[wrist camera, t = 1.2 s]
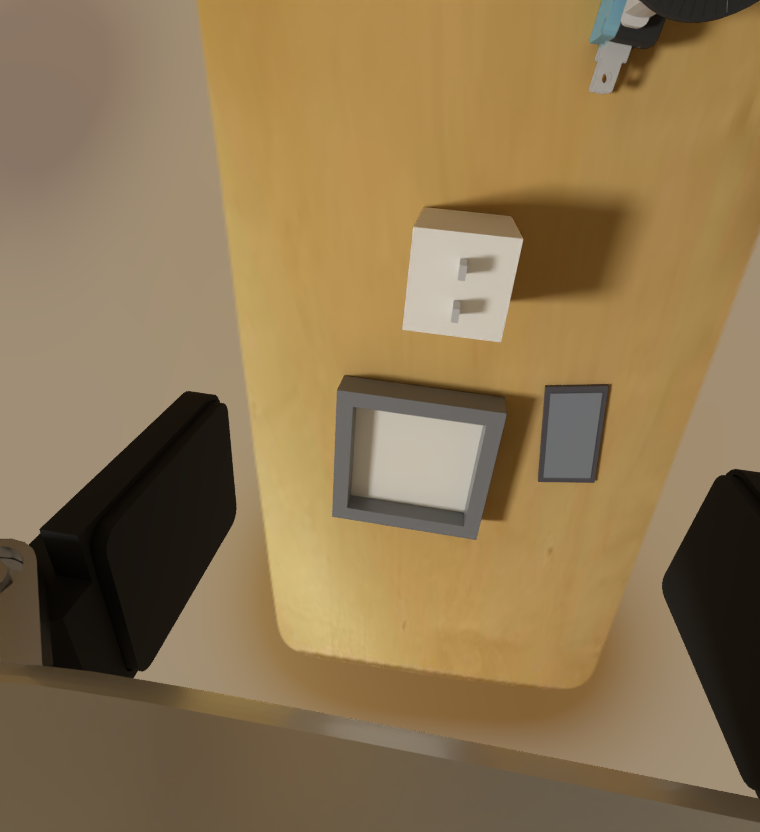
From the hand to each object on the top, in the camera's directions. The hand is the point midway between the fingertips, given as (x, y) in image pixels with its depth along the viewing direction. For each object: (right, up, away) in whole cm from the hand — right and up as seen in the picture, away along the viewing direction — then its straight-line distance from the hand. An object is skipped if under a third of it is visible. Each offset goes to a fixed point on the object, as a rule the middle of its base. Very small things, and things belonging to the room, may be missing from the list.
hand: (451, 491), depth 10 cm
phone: (+11, +1, +22) cm, 24 cm away
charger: (+3, +10, +17) cm, 20 cm away
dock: (+1, -1, +24) cm, 24 cm away
